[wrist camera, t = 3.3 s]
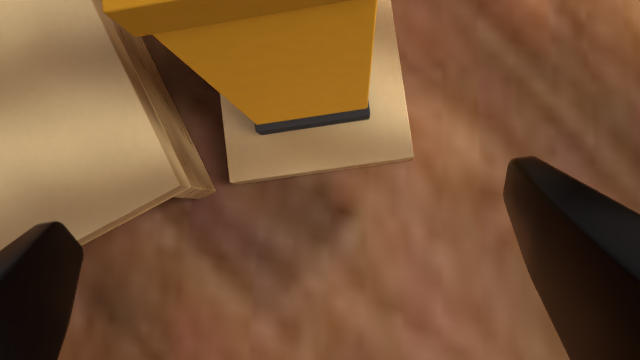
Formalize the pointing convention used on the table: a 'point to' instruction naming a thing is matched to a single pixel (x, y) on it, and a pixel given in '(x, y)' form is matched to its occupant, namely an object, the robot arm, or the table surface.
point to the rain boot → (268, 53)
